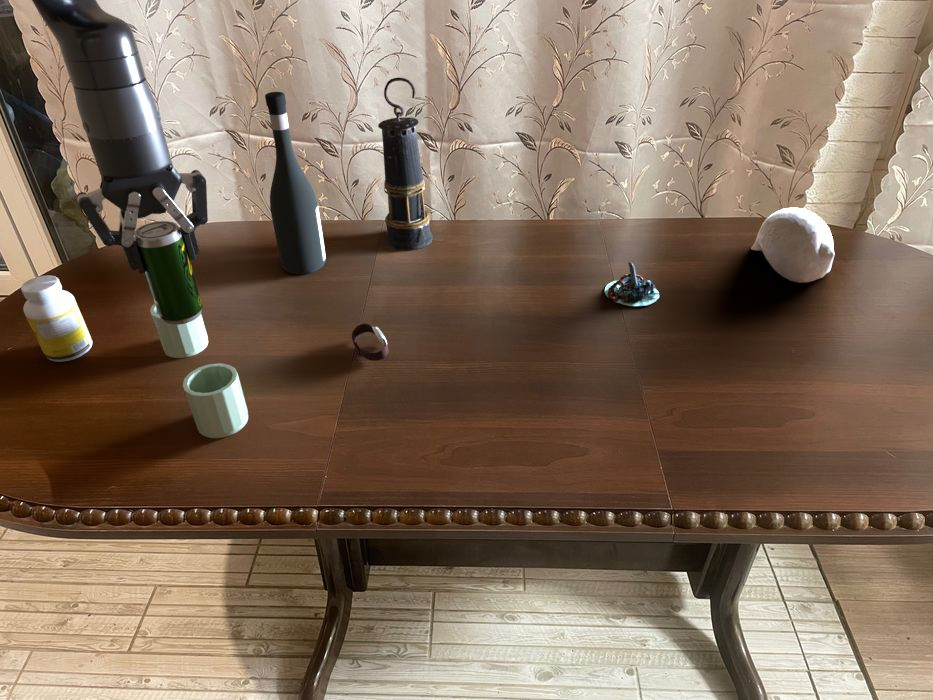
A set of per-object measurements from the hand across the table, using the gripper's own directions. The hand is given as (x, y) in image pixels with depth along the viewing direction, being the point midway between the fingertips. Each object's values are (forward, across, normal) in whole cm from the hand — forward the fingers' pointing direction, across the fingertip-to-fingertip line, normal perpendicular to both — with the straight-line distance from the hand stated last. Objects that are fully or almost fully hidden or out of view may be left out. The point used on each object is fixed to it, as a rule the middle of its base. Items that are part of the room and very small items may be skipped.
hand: (166, 263), depth 80 cm
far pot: (+19, 0, -10) cm, 21 cm away
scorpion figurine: (+19, -67, +15) cm, 71 cm away
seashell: (+19, -97, +23) cm, 101 cm away
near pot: (+19, 0, +10) cm, 21 cm away
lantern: (+19, -45, -23) cm, 54 cm away
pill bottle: (+19, +15, -18) cm, 30 cm away
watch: (+19, -23, +6) cm, 30 cm away
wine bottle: (+19, -24, -24) cm, 39 cm away
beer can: (+8, 0, 0) cm, 8 cm away
